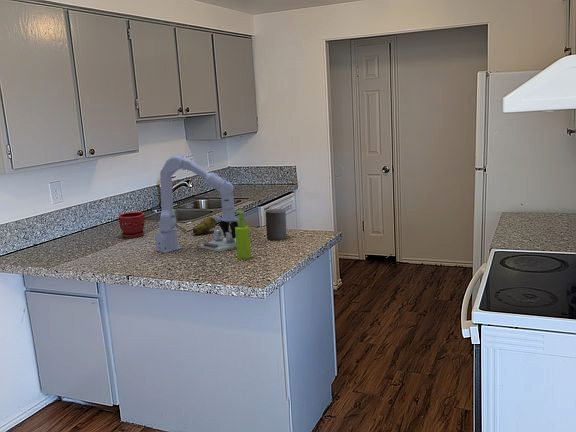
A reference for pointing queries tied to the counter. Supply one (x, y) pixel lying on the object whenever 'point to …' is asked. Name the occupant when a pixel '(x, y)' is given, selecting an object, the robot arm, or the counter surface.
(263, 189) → the counter surface
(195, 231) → the potato
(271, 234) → the pillar candle
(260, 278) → the counter surface
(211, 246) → the scale
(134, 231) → the plant pot
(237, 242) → the soap dispenser
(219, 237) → the cylinder
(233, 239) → the cylinder
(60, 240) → the counter surface
